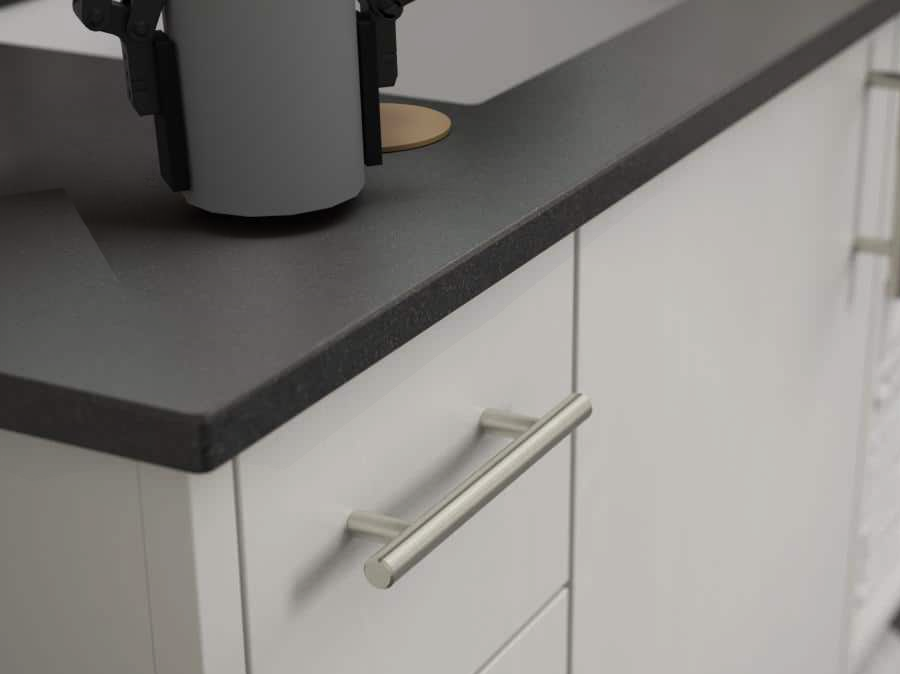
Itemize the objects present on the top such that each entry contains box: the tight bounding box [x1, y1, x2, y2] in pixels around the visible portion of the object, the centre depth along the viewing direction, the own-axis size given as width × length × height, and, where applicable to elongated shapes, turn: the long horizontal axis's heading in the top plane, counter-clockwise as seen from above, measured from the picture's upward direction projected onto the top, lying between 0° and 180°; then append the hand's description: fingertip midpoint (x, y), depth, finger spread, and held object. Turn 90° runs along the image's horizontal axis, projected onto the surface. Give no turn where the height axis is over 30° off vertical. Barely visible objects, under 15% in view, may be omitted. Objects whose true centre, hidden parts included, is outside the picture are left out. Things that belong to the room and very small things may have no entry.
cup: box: [161, 0, 366, 218], centre depth 73 cm, size 8×8×10 cm
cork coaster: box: [380, 102, 452, 153], centre depth 87 cm, size 9×9×1 cm
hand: (272, 169), depth 75 cm, fingers closed on cup, 8 cm apart
